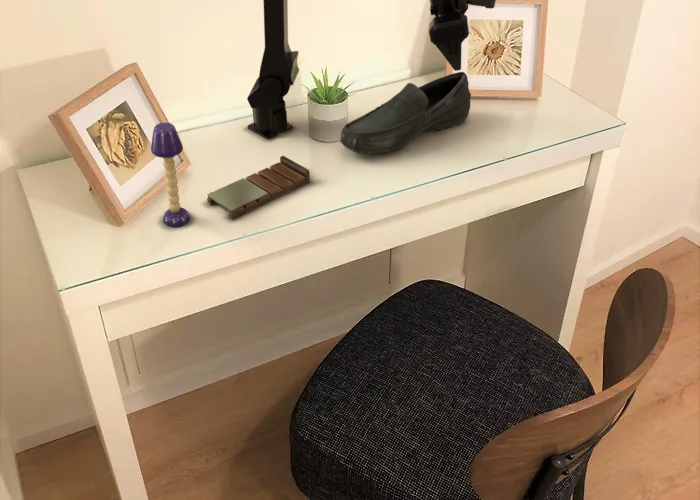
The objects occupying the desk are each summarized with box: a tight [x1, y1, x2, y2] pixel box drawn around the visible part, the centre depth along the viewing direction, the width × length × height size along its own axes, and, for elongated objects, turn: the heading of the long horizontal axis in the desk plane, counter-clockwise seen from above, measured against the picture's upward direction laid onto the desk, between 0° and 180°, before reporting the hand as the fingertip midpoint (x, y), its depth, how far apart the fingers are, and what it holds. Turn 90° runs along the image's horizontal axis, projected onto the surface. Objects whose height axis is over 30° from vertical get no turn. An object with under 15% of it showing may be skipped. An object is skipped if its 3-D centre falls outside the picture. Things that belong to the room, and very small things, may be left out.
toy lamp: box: [150, 122, 191, 228], centre depth 116 cm, size 5×5×17 cm
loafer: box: [340, 71, 472, 155], centre depth 140 cm, size 10×29×10 cm, turn 132°
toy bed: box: [206, 155, 311, 221], centre depth 126 cm, size 16×7×2 cm, turn 134°
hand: (458, 59), depth 133 cm, fingers open, 9 cm apart
